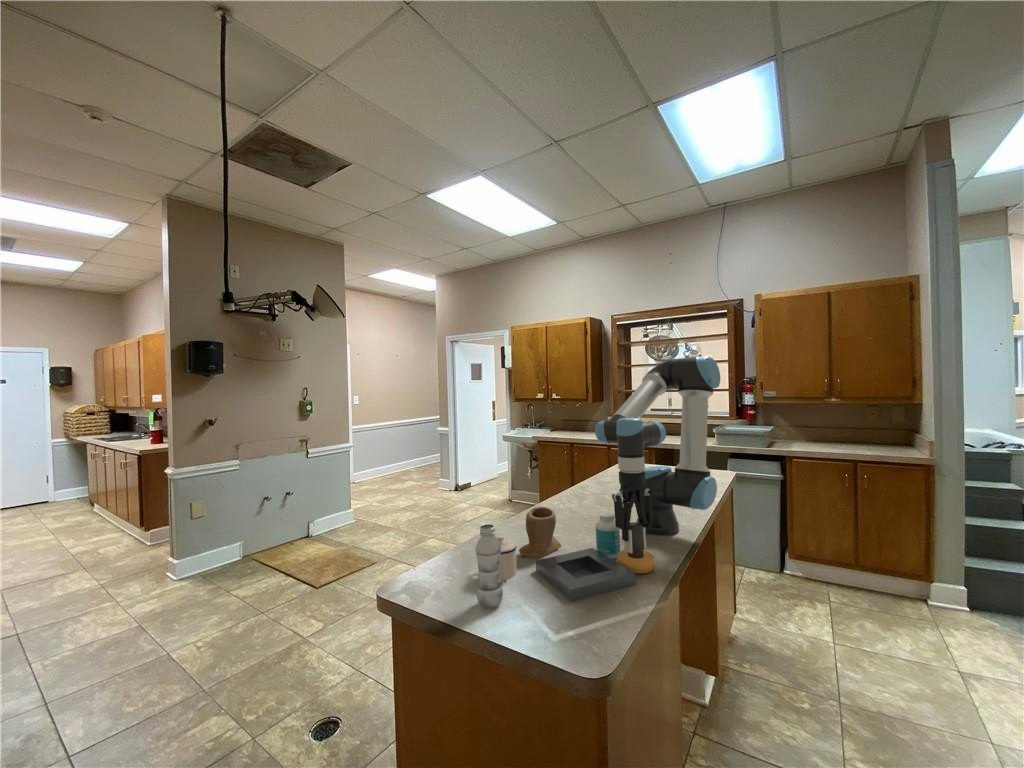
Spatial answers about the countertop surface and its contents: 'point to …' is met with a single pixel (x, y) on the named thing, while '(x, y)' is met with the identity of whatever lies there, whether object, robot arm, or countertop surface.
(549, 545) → the stone cup
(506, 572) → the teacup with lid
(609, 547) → the pill bottle
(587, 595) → the grey square socket block
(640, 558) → the peg on round base
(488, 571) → the plastic bottle
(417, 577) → the countertop surface
